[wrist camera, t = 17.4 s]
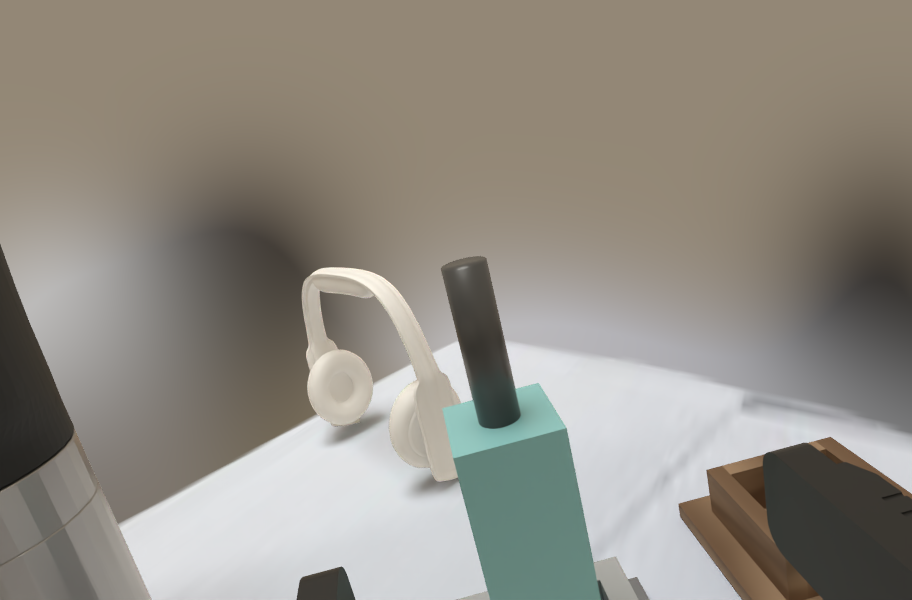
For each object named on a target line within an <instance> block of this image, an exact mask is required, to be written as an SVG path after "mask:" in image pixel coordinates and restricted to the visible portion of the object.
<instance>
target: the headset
mask: <svg viewBox="0 0 912 600" xmlns="http://www.w3.org/2000/svg"><path fill="white" fill-rule="evenodd" d="M319 290H320V291H323V292H328V293H341V294H347V295H353V296H357V297H362V298H370V297H372V296H375V297H376V298H377V299H378V300H379V302H380V303H381V304H382V305H383V307H384V308H385V310H386V311H387V313H388V315H389V316H390V318H391V319H392V321H393V323H394V325H395V327H396V329H397V331H398V333H399V335H400V337H401V339H402V341H403V344H404V346H405V348H406V351H407V353H408V356H409V358H410V360H411V363H412V366H413V368H414V371H415V374H416V377H417V380H416V381H414V382H412V383H410V384H409V385H408V386H406V387H405V388H404V389H403V390H402V391H401V393H400V394H399V395H398V397H397V399H396V400H395V402H394V405H393V407H392V410H391V414H390V420H389V433H390V438H391V442H392V445H393V447H394V449H395V451H396V452H397V454H398V455H399V456H400V458H401V459H403V460H404V461H405V462H406V463H408V464H409V465H411V466H414V467H417V468H431V472H432V475H433V477H434V479H435V480H436V481H438V482H440V481H448V480H452V479H455V478H458V475H457V471H456V467H455V464H454V460H453V455H452V451H451V446H450V442H449V437H448V433H447V428H446V424H445V419H444V415H443V410H442V408H446V407H449V406H453V405H457V404H461V402H460V399H459V397H458V395H457V394H456V392H455V391H454V389H453V388H452V387H451V384H450V381H449V379H448V377H447V375H446V374H444V373H442V372H441V371H440V370H439V368H438V366H437V364H436V362H435V359H434V357H433V355H432V352H431V350H430V348H429V345H428V343H427V341H426V339H425V336H424V334H423V332H422V330H421V328H420V326H419V324H418V322H417V320H416V318H415V316H414V315H413V313H412V311H411V309H410V307H409V306H408V304H407V303H406V301H405V300H404V298H403V297H402V296H401V294H400V293H399V292H398V291H397V289H396V288H395V287H394V286H393V285H392V284H390V283H389V282H388V281H387V280H385V279H384V278H382V277H381V276H379V275H377V274H375V273H372V272H369V271H365V270H360V269H352V268H322V269H319V270H317V271H315V272H314V273H312V274H311V276H309V277H308V278H307V279H306V280H305V282H304V284H303V288H302V305H303V313H304V320H305V326H306V331H307V337H308V343H309V347H308V349H307V352H306V358H307V362H308V365H309V368H310V374H309V378H308V386H307V387H308V396H309V400H310V403H311V405H312V407H313V409H314V410H315V411H316V413H317V414H318V415H319V416H320V417H321V418H323V419H324V420H326V421H327V422H330V423H331V425H332V426H334V427H338V426H347V425H351V424H356V423H359V422H360V417H361V416H362V415H363V414H364V413H365V411H366V410H367V408H368V406H369V404H370V402H371V398H372V394H373V382H372V377H371V374H370V371H369V369H368V367H367V365H366V364H365V362H364V361H363V360H362V359H361V358H360V357H358V356H357V355H356V354H354V353H352V352H349V351H346V350H338V348H337V346H336V344H335V343H334V342H333V341H332V340H329V339H328V338H327V336H326V333H325V328H324V324H323V319H322V313H321V307H320V296H319Z"/></svg>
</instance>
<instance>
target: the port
mask: <svg viewBox="0 0 912 600" xmlns="http://www.w3.org/2000/svg"><path fill="white" fill-rule="evenodd" d="M594 568H595V573H596V578H597V583H598V588H599V593H600V597H601V600H649V598H648V596H647V595H646V593H645V591H644V589H643V587H642V586H641V584H640V582H639V580H638V578H637V577H635V578H632V579H627V577H626V575H625V573H624V571H623V569H622V567H621V566H620V564H619V562H618V560H617V558H616V557H612V558H608V559H605V560H601V561H597V562H594ZM457 600H490V597H489V593H488V591H486V592H483V593H479V594H475V595H472V596H468V597H464V598H461V599H457Z"/></svg>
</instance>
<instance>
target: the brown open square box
mask: <svg viewBox="0 0 912 600" xmlns="http://www.w3.org/2000/svg"><path fill="white" fill-rule="evenodd" d="M808 444H811V445H812V446H814V447H815V448H816V449H818V450H819V451H820V452H822V453H823V454H824V455H826V456H827V457H828V458H829V459H831V460H832V461H833V462H835V463H836V464H838V463H842V462H848V463H850V464H853V465H855V466H858V467H860V468H863V469H865V470H868V471H871V472H873V473H876V474H878V475H879V476H881V477H882V478H883V479H885V480H886V481H888V482H889V483H890V484H892V485H893V486H894V487H896V488H897V489H899V490H900V491H901V492H902V494H903V495H904V496H908V497H910V498H911V499H912V494H911V493H910V492H908V491H907V490H905V489H904V488H902V487H901V486H900V485H898V484H897V483H895V482H894V481H892V480H891V479H890V478H888V477H887V476H885V475H884V474H882V473H881V472H880V471H878V470H877V469H875V468H874V467H873V466H871V465H870V464H868V463H867V462H865V461H864V460H863V459H861V458H860V457H858V456H857V455H855V454H854V453H853V452H851V451H850V450H848V449H847V448H846V447H844V446H843V445H841V444H840V443H838V442H837V441H836V440H834V439H833V438H831V437H829V438H825V439H821V440H817V441H814V442H810V443H808ZM763 457H764V455H761V456H757V457H754V458H750V459H746V460H742V461H739V462H735V463H731V464H727V465H724V466H720V467H716V468H712V469H709V470H707V478H708V485H709V493H710V495H709V496H706V497H702V498H698V499H694V500H691V501H687V502H683V503H680V504H679V511H680V517H681V518H682V520H683V521H684V522H685V524H686V525H687V526H688V528H689V529H690V530H691V532H692V533H693V534H694V536H695V537H696V538H697V540H698V541H699V542H700V544H701V545H702V546H703V548H704V549H705V550H706V552H707V553H708V554H709V556H710V557H711V558H712V560H713V561H714V562H715V564H716V565H717V566H718V568H719V569H720V570H721V572H722V573H723V574H724V576H725V577H726V578H727V580H728V581H729V582H730V584H731V585H732V586H733V588H734V589H735V590H736V592H737V593H738V594H739V596H740V597H741V598H742V600H823V599H822V598H821V596H820V595H819V594H818V593H817V592H816V591H815V590H814V589H813V588H812V587H811V586H810V585H809V583H808V582H807V581H806V580H805V579H804V578H803V577H802V576H801V575H800V574H799V573H798V571H797V570H796V569H795V568H794V567H793V566H792V565H791V564H790V563H789V562H788V561H787V559H786V558H785V557H784V556H783V555H782V553H781V552H780V551H779V549H778V547H777V546H776V544H775V542H774V540H773V538H772V535H771V533H770V529H769V526H768V520H767V509H766V498H765V486H764V474H763Z"/></svg>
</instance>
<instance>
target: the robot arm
mask: <svg viewBox="0 0 912 600" xmlns="http://www.w3.org/2000/svg"><path fill="white" fill-rule="evenodd" d="M763 474H764V486H765V498H766V509H767V520H768V526H769V529H770V533H771V535H772V538H773V540H774V542H775V544H776V546H777V547H778V549H779V551H780V552H781V553H782V555H783V556H784V557H785V558H786V559H787V561H788V562H789V563H790V564H791V565H792V566H793V567H794V568H795V569H796V570H797V571H798V573H799V574H800V575H801V576H802V577H803V578H804V579H805V580H806V581H807V582H808V583H809V585H810V586H811V587H812V588H813V589H814V590H815V591H816V592H817V593H818V594H819V595H820V596H821V598H822V599H823V600H912V499H911V498H910V497H908V496H904V495H903V494H902V492H901V491H900V490H899V489H897V488H896V487H894V486H893V485H892V484H890V483H889V482H888V481H886V480H885V479H883V478H882V477H881V476H879V475H878V474H876V473H873V472H871V471H868V470H865V469H863V468H860V467H858V466H855V465H853V464H850V463H848V462H842V463H838V464H836V463H835V462H833V461H832V460H831V459H829V458H828V457H827V456H826V455H824V454H823V453H822V452H820V451H819V450H818V449H816V448H815V447H814V446H812V445H811V444H808V443H801V444H798V445H794V446H790V447H787V448H783V449H779V450H776V451H772V452H768V453H766V454H765V455H764V457H763ZM0 600H152V599H151V597H150V595H149V593H148V590H147V588H146V586H145V584H144V581H143V579H142V577H141V575H140V573H139V570H138V568H137V566H136V564H135V561H134V559H133V557H132V555H131V553H130V550H129V548H128V546H127V544H126V542H125V539H124V537H123V535H122V533H121V530H120V528H119V526H118V524H117V522H116V520H115V517H114V515H113V513H112V511H111V508H110V506H109V504H108V502H107V499H106V498H105V495H104V493H103V491H102V488H101V486H100V484H99V482H98V480H97V478H96V476H95V474H94V471H93V469H92V467H91V465H90V463H89V460H88V458H87V456H86V454H85V452H84V449H83V447H82V445H81V442H80V440H79V438H78V436H77V434H76V431H75V429H74V426H73V423H72V421H71V419H70V417H69V415H68V413H67V410H66V408H65V406H64V404H63V402H62V399H61V397H60V394H59V392H58V389H57V387H56V384H55V382H54V379H53V377H52V374H51V372H50V369H49V367H48V365H47V362H46V360H45V357H44V355H43V353H42V350H41V348H40V346H39V344H38V341H37V339H36V337H35V334H34V332H33V330H32V327H31V325H30V323H29V320H28V318H27V315H26V312H25V310H24V307H23V305H22V302H21V299H20V297H19V295H18V292H17V289H16V287H15V284H14V281H13V278H12V276H11V273H10V270H9V267H8V265H7V262H6V259H5V256H4V253H3V251H2V248H1V245H0ZM297 600H355V597H354V594H353V591H352V588H351V585H350V582H349V579H348V576H347V574H346V571H345V570H344V568H343V567H338V568H335V569H331V570H327V571H323V572H320V573H316V574H312V575H309V576H305V577H302V578H301V580H300V583H299V588H298V595H297Z"/></svg>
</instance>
